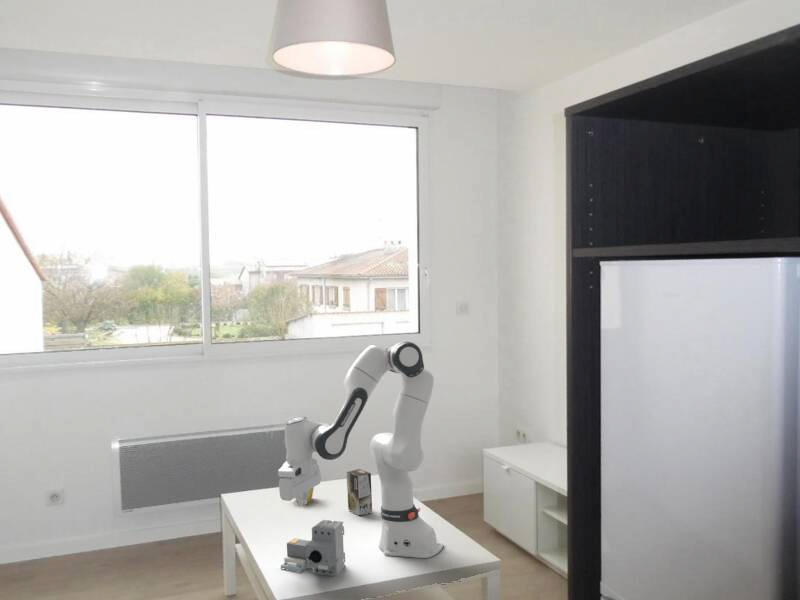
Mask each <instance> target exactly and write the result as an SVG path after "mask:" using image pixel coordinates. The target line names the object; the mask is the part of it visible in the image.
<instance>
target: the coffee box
mask: <svg viewBox="0 0 800 600" xmlns="http://www.w3.org/2000/svg"><path fill="white" fill-rule="evenodd" d="M371 475H372V473H371V472H368V471H366V470H363V469H360V468H359V469H354V470H351V471H350V470H349V471H346V487H347V507H348V509H347V510H350V511H352V512H354V513H356V514H358V515H362V516H364V515H363V514H366V515H369V514H368V513H370V514H372V513H373V500H372V499H373V498H372V476H371ZM350 511H349V512H350ZM352 512H351V513H352ZM371 512H372V513H371ZM354 513H353V514H354ZM356 514H355V515H356ZM358 515H357V516H358Z"/></svg>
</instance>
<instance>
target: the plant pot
mask: <svg viewBox="0 0 800 600" xmlns="http://www.w3.org/2000/svg"><path fill="white" fill-rule="evenodd" d="M314 488H315V487H313V488H311V489H310V490H308V497H307V503H309V502H312V500H313V496H314V495H313V494H314ZM294 499H295V501H296V503H298V501H297V499H296V498H294Z"/></svg>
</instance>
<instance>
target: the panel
mask: <svg viewBox="0 0 800 600" xmlns="http://www.w3.org/2000/svg"><path fill="white" fill-rule="evenodd" d="M283 559H284V560H283V561H284V562H283V563H282V564H280V569H281V568H284V569H283V570H286V569H288V570H287V571H291V570H292V571H291V572H296V573H302V572H304V571H305V570H306V569H308V568H307V564H306V562H305V560H304V559H298V558H293V557H287V555H286V556H284V558H283Z"/></svg>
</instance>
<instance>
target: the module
mask: <svg viewBox="0 0 800 600" xmlns="http://www.w3.org/2000/svg"><path fill="white" fill-rule="evenodd" d="M310 541H311V540H306V539H300V538H294V537H293V538H292V539H291V540H290V541H288V542H286V553H287V554H286V556H287V557H293V558H298V559H304V560H305V562H306V544H307V543H308V542H310ZM306 564H307V563H306Z"/></svg>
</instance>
